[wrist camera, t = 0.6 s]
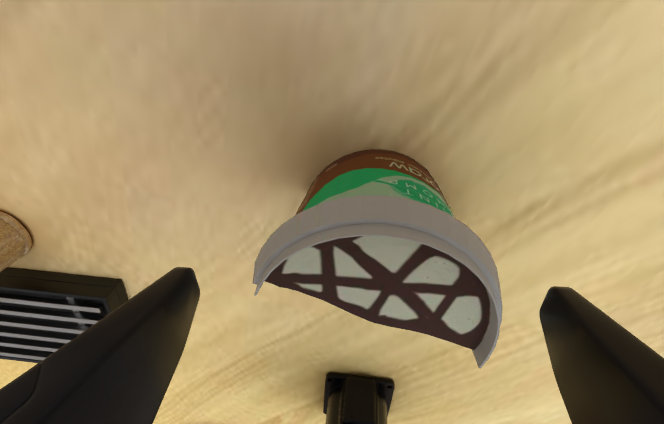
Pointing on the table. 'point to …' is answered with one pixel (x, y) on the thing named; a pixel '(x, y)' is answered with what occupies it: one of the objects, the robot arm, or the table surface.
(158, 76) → the table surface
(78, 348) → the robot arm
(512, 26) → the table surface
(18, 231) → the sprinkles bottle
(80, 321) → the dish rack
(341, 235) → the food container
